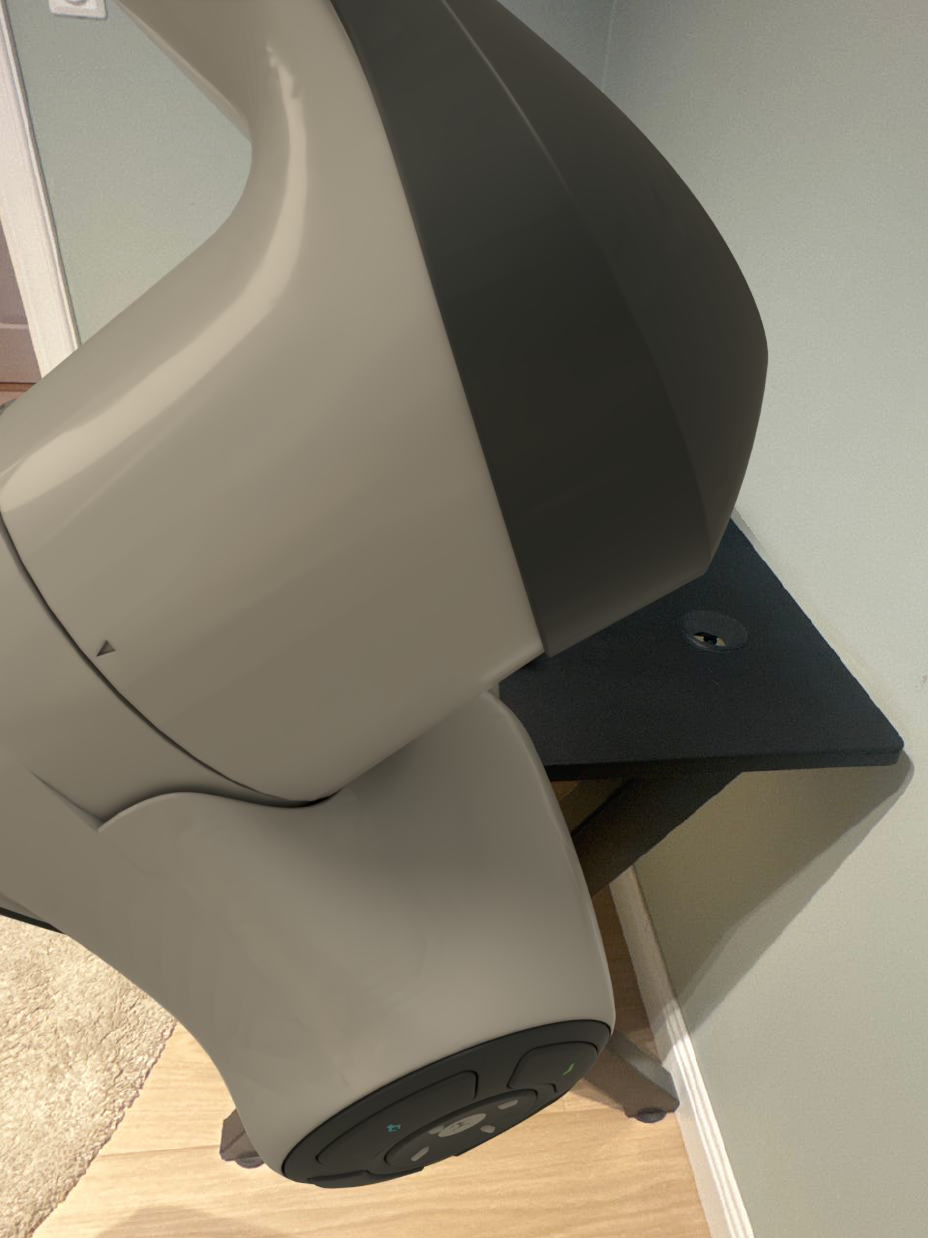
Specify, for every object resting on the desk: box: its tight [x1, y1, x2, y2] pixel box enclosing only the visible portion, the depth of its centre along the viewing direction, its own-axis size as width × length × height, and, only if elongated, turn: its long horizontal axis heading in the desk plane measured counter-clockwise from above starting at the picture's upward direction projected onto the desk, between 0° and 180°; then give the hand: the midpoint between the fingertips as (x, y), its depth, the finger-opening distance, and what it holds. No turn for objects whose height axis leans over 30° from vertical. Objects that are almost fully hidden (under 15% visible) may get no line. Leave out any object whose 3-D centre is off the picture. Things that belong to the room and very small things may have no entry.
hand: (321, 486), depth 38 cm, fingers open, 8 cm apart
